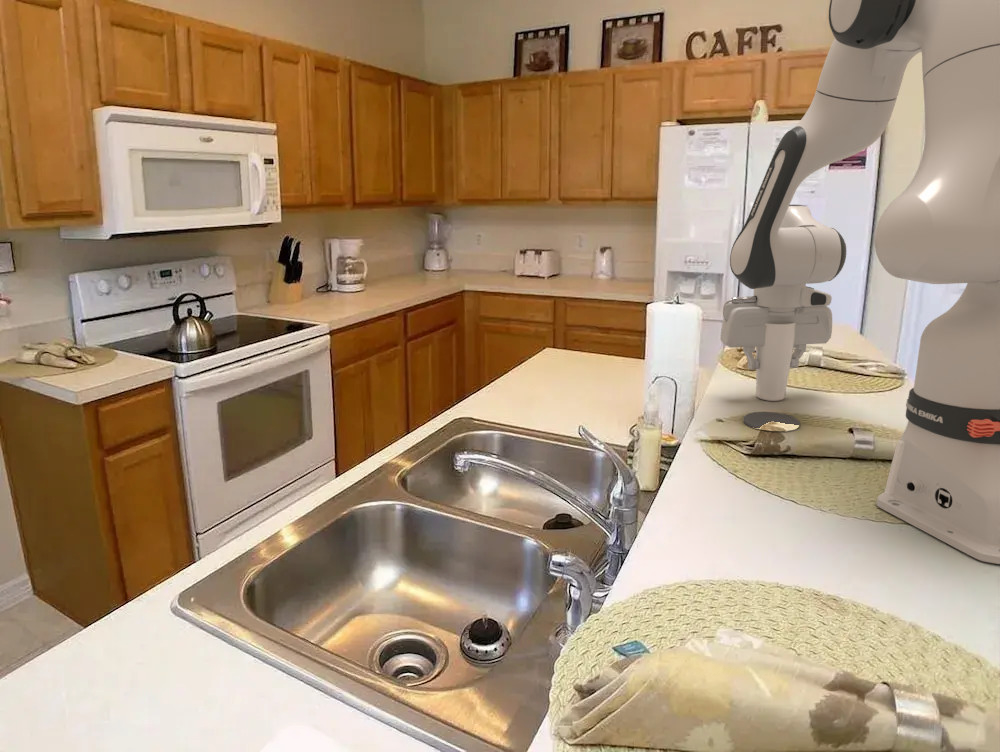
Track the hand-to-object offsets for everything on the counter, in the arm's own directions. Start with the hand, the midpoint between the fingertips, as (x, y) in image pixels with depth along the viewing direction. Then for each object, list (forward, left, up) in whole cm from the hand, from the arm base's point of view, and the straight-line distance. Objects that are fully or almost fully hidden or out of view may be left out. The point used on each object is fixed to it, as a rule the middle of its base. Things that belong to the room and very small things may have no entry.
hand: (772, 367), depth 130 cm
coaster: (-14, +7, -6) cm, 17 cm away
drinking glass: (0, 0, -6) cm, 6 cm away
